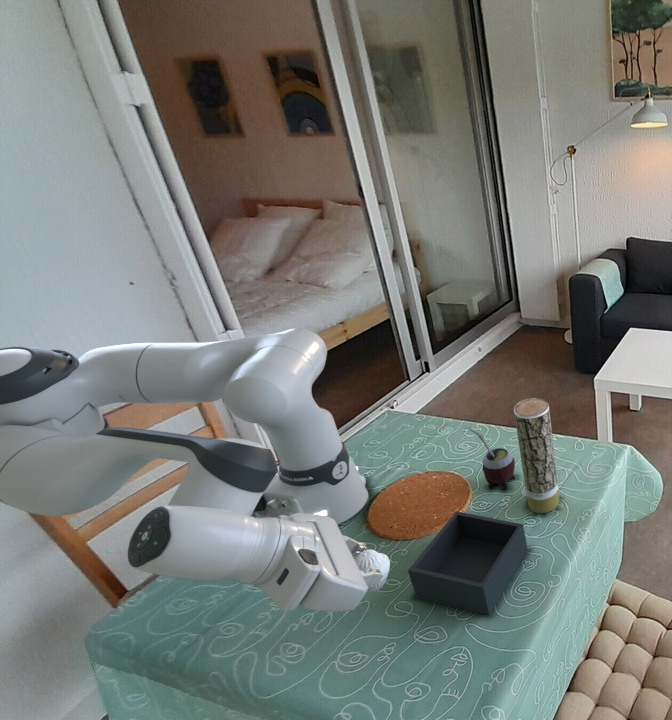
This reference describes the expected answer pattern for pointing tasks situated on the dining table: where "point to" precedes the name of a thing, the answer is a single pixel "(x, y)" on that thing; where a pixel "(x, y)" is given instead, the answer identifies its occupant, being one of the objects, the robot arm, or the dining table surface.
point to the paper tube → (537, 454)
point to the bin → (469, 562)
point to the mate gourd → (497, 465)
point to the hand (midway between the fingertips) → (372, 563)
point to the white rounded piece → (373, 566)
